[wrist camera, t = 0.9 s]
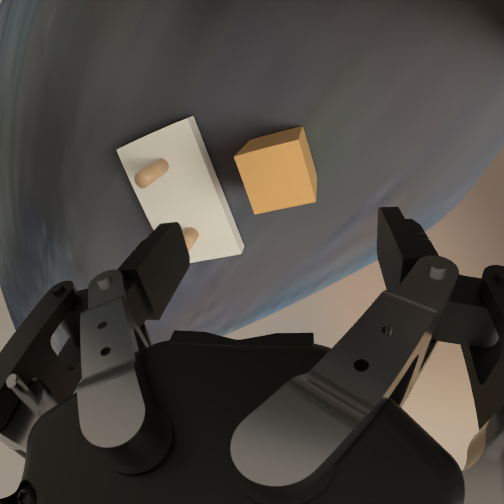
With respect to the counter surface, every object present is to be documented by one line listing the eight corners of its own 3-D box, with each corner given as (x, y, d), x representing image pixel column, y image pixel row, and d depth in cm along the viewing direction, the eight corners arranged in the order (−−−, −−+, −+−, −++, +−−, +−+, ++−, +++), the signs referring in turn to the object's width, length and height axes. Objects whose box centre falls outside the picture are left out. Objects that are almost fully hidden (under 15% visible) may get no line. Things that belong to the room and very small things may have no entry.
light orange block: (302, 125, 25) (298, 139, 21) (316, 176, 28) (315, 201, 23) (250, 139, 27) (233, 156, 22) (266, 187, 29) (254, 214, 25)
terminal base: (193, 115, 27) (167, 126, 22) (244, 246, 34) (231, 277, 29) (123, 146, 30) (93, 162, 25) (176, 258, 37) (157, 287, 32)
